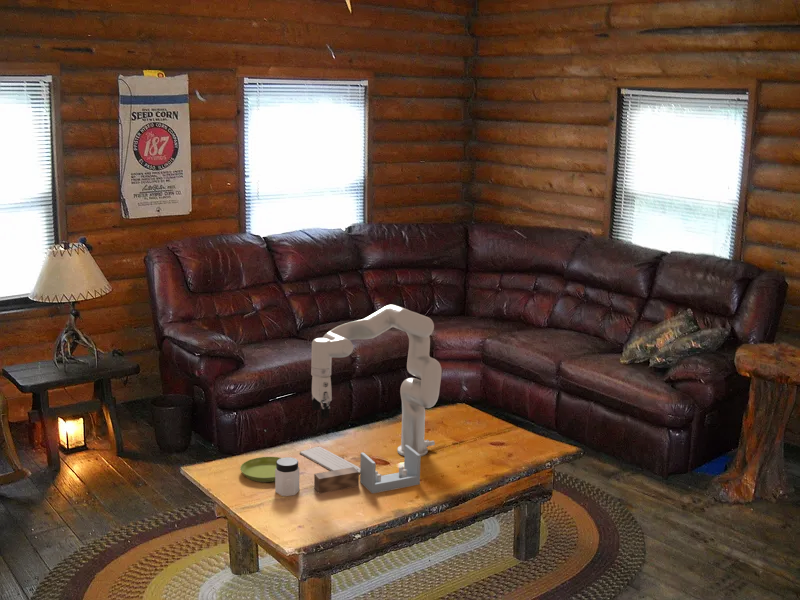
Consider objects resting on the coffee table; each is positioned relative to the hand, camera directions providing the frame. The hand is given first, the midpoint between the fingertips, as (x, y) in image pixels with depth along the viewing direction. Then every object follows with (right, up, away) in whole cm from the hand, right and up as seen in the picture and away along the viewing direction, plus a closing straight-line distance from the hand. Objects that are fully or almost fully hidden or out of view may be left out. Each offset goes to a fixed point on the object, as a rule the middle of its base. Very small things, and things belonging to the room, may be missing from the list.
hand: (320, 413), depth 349 cm
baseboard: (+4, -23, +20) cm, 31 cm away
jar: (-12, -28, -7) cm, 31 cm away
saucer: (-21, -25, +8) cm, 34 cm away
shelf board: (+6, -28, -3) cm, 28 cm away
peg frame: (+26, -27, +2) cm, 38 cm away
